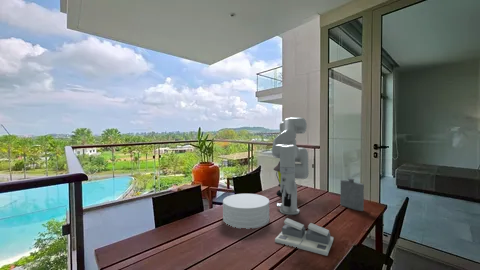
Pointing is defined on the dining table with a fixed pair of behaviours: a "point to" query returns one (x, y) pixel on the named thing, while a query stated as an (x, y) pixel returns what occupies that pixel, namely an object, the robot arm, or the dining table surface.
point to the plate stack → (246, 210)
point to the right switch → (318, 229)
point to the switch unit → (305, 239)
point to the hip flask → (352, 194)
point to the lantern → (279, 178)
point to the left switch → (294, 224)
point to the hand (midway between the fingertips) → (287, 206)
